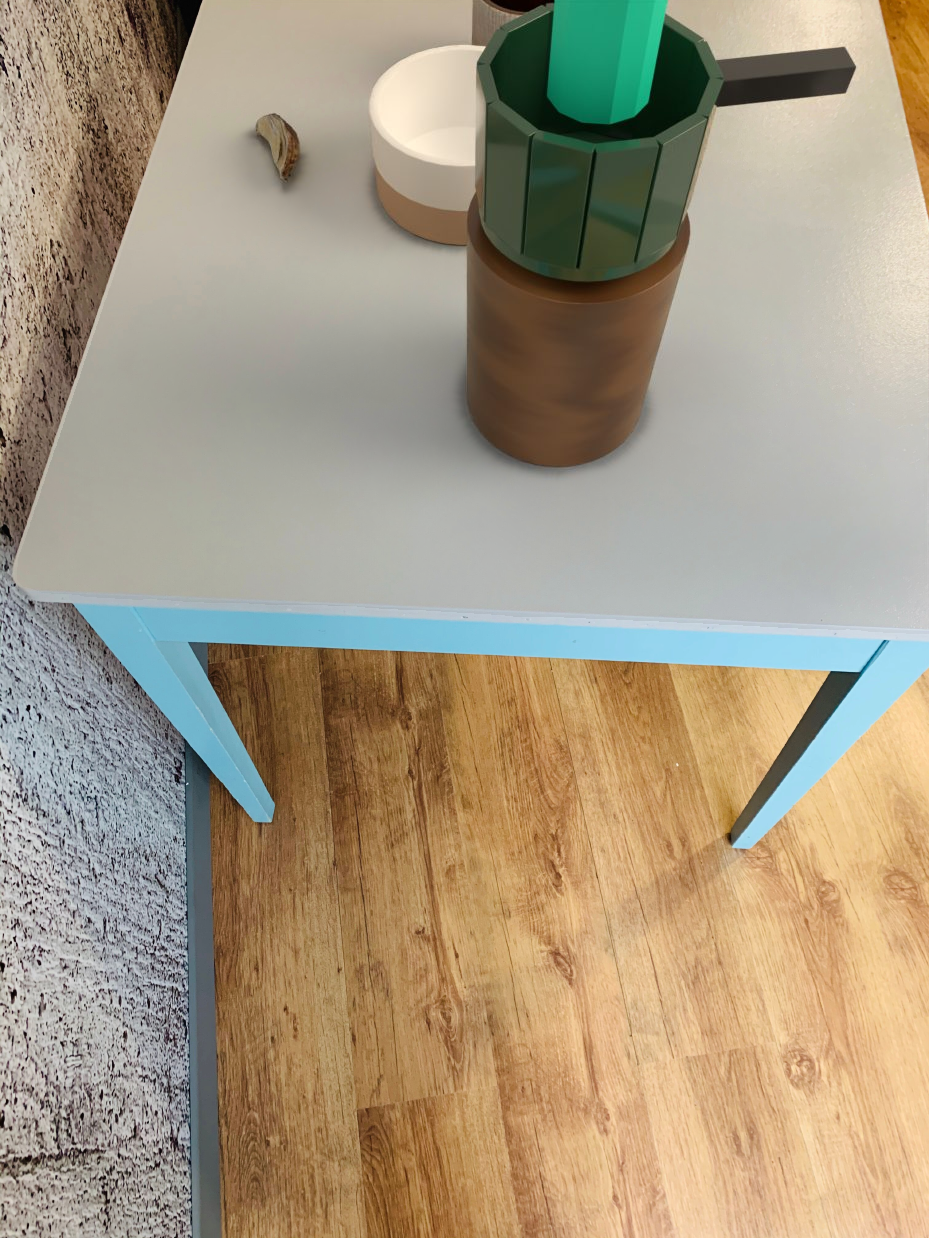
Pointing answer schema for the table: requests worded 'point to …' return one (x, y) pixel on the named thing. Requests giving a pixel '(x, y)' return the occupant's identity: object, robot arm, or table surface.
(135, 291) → the table surface
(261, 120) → the oyster shell
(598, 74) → the candle
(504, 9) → the planter
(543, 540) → the table surface
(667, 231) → the pot
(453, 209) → the bowl
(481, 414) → the stand
